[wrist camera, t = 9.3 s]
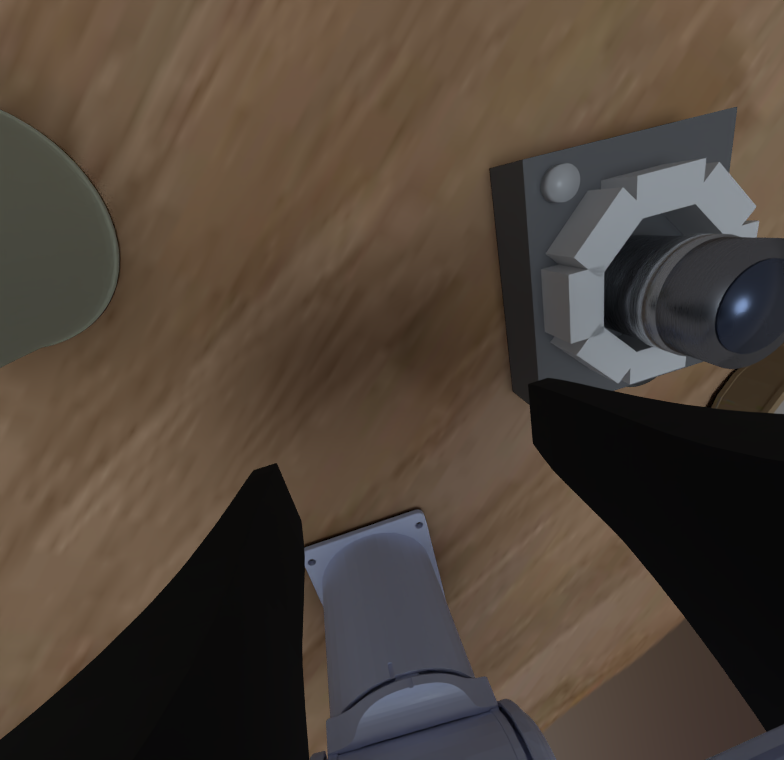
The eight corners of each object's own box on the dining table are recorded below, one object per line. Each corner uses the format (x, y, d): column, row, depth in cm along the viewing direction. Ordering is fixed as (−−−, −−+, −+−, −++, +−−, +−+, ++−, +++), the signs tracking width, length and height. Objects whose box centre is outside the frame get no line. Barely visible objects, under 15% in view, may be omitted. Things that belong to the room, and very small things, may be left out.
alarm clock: (898, 408, 28) (773, 580, 28) (807, 390, 32) (700, 538, 32) (856, 311, 23) (707, 515, 23) (758, 305, 28) (632, 477, 28)
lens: (683, 247, 19) (846, 256, 13) (640, 338, 20) (770, 382, 14) (606, 219, 17) (749, 216, 12) (566, 320, 19) (677, 359, 13)
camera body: (660, 345, 24) (742, 373, 20) (512, 391, 23) (564, 433, 19) (676, 122, 19) (790, 93, 15) (489, 168, 18) (551, 151, 14)
